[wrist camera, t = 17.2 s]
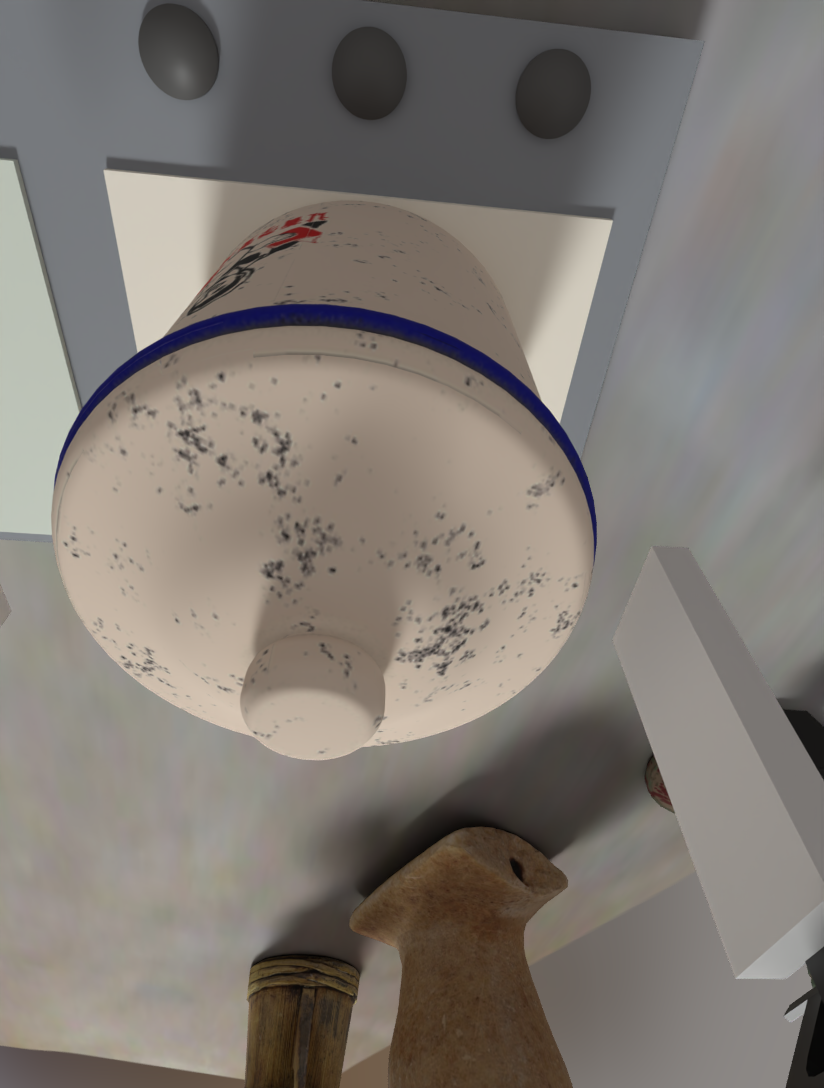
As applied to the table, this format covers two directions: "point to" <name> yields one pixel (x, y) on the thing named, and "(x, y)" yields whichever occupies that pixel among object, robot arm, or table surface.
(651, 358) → the table surface
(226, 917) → the table surface
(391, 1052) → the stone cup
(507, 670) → the teacup with lid
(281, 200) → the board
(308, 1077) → the wooden mug
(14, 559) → the table surface
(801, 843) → the robot arm
